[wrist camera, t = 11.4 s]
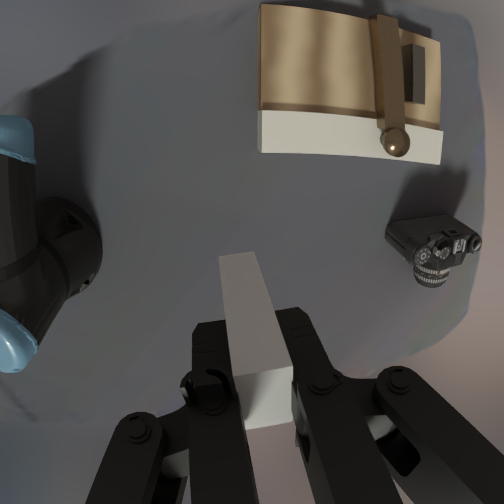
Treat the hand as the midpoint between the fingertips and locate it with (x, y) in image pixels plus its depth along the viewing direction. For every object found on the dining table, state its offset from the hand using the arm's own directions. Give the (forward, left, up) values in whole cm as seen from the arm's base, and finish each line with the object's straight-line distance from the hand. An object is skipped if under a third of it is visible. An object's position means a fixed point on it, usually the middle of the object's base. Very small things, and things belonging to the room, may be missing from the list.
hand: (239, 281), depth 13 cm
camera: (+32, -12, -28) cm, 44 cm away
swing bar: (+20, +12, -24) cm, 33 cm away
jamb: (+17, +5, -28) cm, 33 cm away
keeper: (+24, +14, -25) cm, 37 cm away
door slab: (+17, +14, -28) cm, 36 cm away
